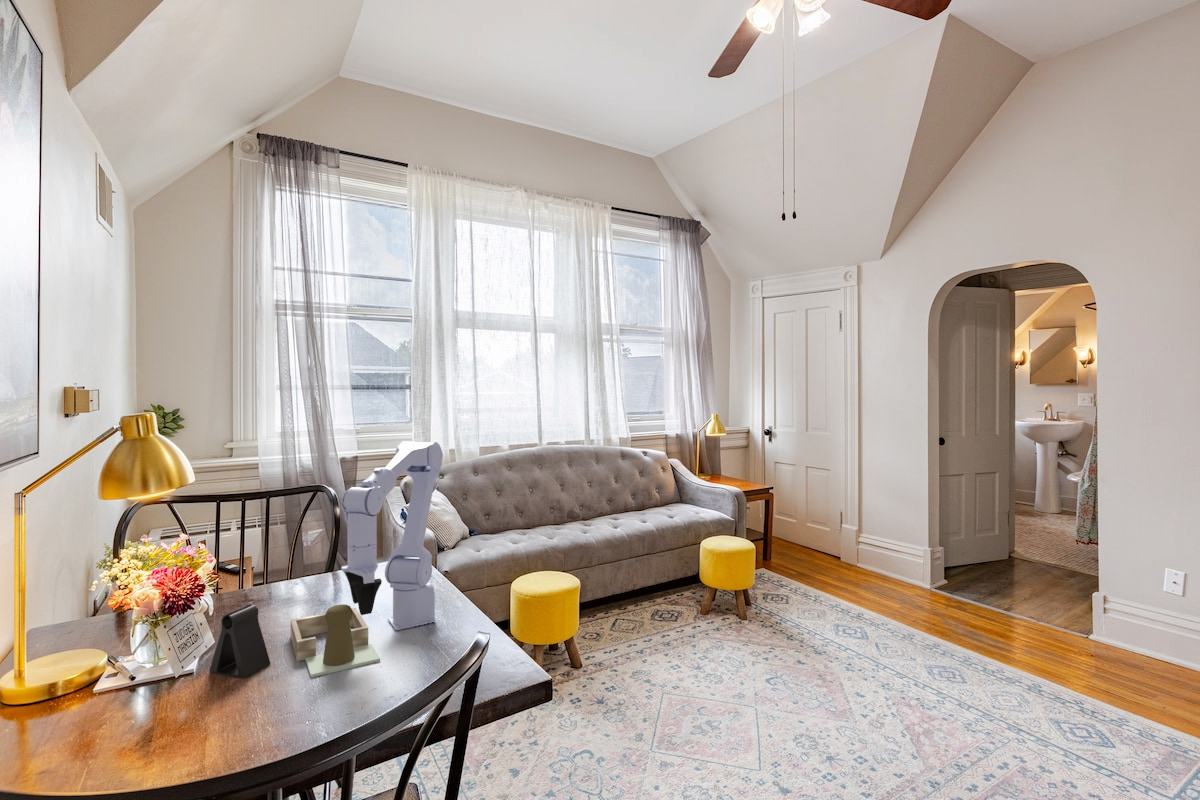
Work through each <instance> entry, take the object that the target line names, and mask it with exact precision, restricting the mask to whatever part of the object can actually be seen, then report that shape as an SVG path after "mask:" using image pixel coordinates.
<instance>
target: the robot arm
mask: <svg viewBox="0 0 1200 800" xmlns="http://www.w3.org/2000/svg"><path fill="white" fill-rule="evenodd" d="M443 455H444V454H443V451H442V447H441V445H440V443H438V442H436V441H431V442H429V441H428V442H427V441H425V442H422V441H419V442H418V441H406V440H405V441H404V440H403V441H402V442H400V444H399V445H398V446H396V449H395V455H394V456H393V458H392V459H390V461H389V462H388V463H387V464H386V466H385V467H375V469H373V471H372V473H370V474H369V475H368V476H367V477H366V478H365V479H364V480H363V481H362V482H361V483H360V484H359V485H357V486H352V487H350V488H349V489H346V491H345V492H344V493H343V496H342V499H341V502H340V508H341V511H342V512H343V514H344V521H345V523H346V524H347V565H342V566H341V567H340V568H341V569H340V570H341V572H343V573H344V575H345V577H346V579H347V582H348V585H349V588H350V592H351V593H350V594H351V599H352V602H353V604H354V605H355V604H358V612H359V613H360V615H361V616H364V615H369V614H372V612H373V609H374V606H375V605H374V604H375V600H376V596H377V593H378V590H379V588H380V587H381V585H382V579H381V578H375V573H376V571H377V569H378V567H379V565H378V562H377V561H378V560H377V559H378V558H377V557H378V556H377V554H378V550H377V549H378V548H377V546H378V538H377V533H378V532H377V530H378V529H377V525H378V521H377V520H378V519H377V514H379V513H380V512H381V511H382V510H381V509H382V507H383V504H384V502H385V500H386V497H387V496H388V495H389V494H390V492H392V490H393V489H394V488H395V487H396V485H397V482H398V481H397V480H398V479H397V478H399V477H400V476H401V475H402V474H403V473H405V474H406V476H408V477H410V478H411V479H412V481H413V482H412V483H413V484H412V488H411V493H410V500H409V503H408V509H407V514H406V520H405V524H404V525H405V526H404V529H403V530H404V531H403V536H402V540H401V544H400V545H398V546H397V547H396V548H394V549H393V550H392V551H390V555H389V559H388V561H387V563H386V565H385V568H384V578H385V580H386V582H387V583H388V584H389V587H390V588H392V617H388V618H387V620H388V623H390V625H391V626H392V627H393V629H394V630H395V631H401V630H405V629H410V628H414V627H415V626H416V627H420V626H424V624H425V625H428V624H427V623H430V624H432V623H431V622H434V623H436V622H435V621H436V618H435V617H436V615H435V614H436V613H435V612H436V611H435V609H436V604H435V603H436V596H435V595H436V594H435V589H434V588H435V587H434V585H433V584H432V582H429V581H430V580H431V579H432V573H433V566H432V565H433V564H432V561H433V555H432V554H431V552H430V551H429V550H428V549H427V548H426V547H425V546H424V543H425V539H426V538H425V537H426V531H427V525H428V520H429V515H430V510H431V502H432V497H433V492H434V488H435V480H436V478H438V477H439V476H440V472H441V468H442V463H443V458H444V456H443ZM419 625H420V626H419Z"/></svg>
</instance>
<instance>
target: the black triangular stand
mask: <svg viewBox="0 0 1200 800" xmlns="http://www.w3.org/2000/svg"><path fill="white" fill-rule="evenodd" d="M220 624H221V631H220V634H219V637H218V641H217V644H216V647H215V651H214V653H213V654H214V655H213V657H212V661H211V665H210V667H209V671H208V672H209V673H210V674H213V675H220V676H225V677H226V676H228V677H232V678H239V679H243V680H244V679H247V678H249V677H250V676H253V675H254V674H256V673H257V672H259V671H261V670H263V669H265V668H266V667H268V666H270V665H271V660H270V656H269V653H268V650H267V647H266V644H265V640H264V636H263V633H262V629H261V625H260V621H259V609H258V607H257V606H256V605H255V604H254V605H251V604H248V605H246V606H244V607H240V608H239V609H237V610H234V611H232V612H229V613H227V614H224V615H223V616H222V618H221V623H220Z"/></svg>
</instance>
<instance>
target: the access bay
mask: <svg viewBox="0 0 1200 800" xmlns="http://www.w3.org/2000/svg"><path fill="white" fill-rule="evenodd" d="M351 609H352V611H353V615H352V618H351V620H350V627H351V634H352V641H353V648H354V647H359V646H363V645H368V644H369V626H368V625H367V623H366V622H365V620H364V619H363V616H362V615H361V614H360V611H359V609H358V608H357V607H353V608H351ZM325 614H326V613H321V614H317V615H311V616H310V615H309V616H305V617H300V618H295V619H294V618H293V619H290V640H291V644H292V647H293V651H294V655H295V658H296V661H297V662H300V661H306V658H309V657H313V656H317V638H316V636H314V635H318V634H324V633H327V629H328V624H327V622H326V620H325ZM308 636H313V637H308ZM303 637H306V638H303ZM307 637H308V638H307Z"/></svg>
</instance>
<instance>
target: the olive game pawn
mask: <svg viewBox="0 0 1200 800" xmlns="http://www.w3.org/2000/svg"><path fill="white" fill-rule="evenodd" d="M352 609H353V608H352V607H351V605H348V604H336V605H333V606H330V607H329V608H327V610H326V612H325V613H324V614H325V620H326V622H327V624H328V629H327V632H326V638H325V644H324V651H323V654H324V657H323V664H325V665H327V666H339V665H344V664H346V663H349V662H351V661H352V660H353V659H354V658H355V655H354V648H353V641H352V634H351V629H352V627H350V620H351V618H352V615H353V611H352Z"/></svg>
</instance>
